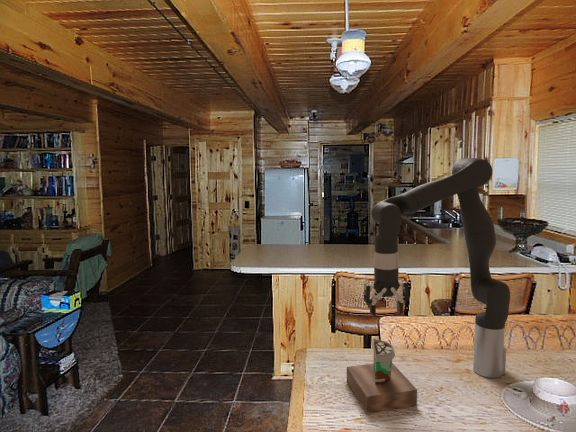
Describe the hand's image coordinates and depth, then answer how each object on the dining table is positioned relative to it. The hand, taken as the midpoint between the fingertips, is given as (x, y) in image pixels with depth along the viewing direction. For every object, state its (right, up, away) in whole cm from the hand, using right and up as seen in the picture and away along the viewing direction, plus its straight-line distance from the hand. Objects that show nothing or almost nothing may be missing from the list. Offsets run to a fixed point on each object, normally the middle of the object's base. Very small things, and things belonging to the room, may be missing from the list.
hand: (386, 314), depth 134 cm
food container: (-1, -20, -1) cm, 20 cm away
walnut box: (-2, -26, -1) cm, 26 cm away
